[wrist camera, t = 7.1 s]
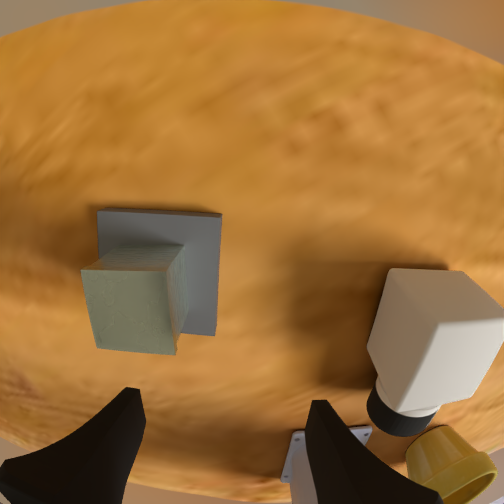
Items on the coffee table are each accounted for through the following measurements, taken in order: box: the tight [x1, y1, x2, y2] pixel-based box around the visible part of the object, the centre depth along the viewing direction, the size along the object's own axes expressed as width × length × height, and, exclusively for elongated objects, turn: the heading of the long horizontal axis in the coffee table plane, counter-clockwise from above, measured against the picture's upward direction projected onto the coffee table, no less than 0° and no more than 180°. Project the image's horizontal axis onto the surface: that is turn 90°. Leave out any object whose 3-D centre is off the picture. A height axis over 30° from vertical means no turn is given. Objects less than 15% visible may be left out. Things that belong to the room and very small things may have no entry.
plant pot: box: [405, 426, 498, 504], centre depth 23 cm, size 10×10×10 cm
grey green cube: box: [81, 245, 189, 355], centre depth 17 cm, size 5×5×5 cm
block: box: [97, 208, 222, 336], centre depth 20 cm, size 8×8×2 cm
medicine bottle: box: [367, 268, 504, 437], centre depth 19 cm, size 7×7×12 cm
